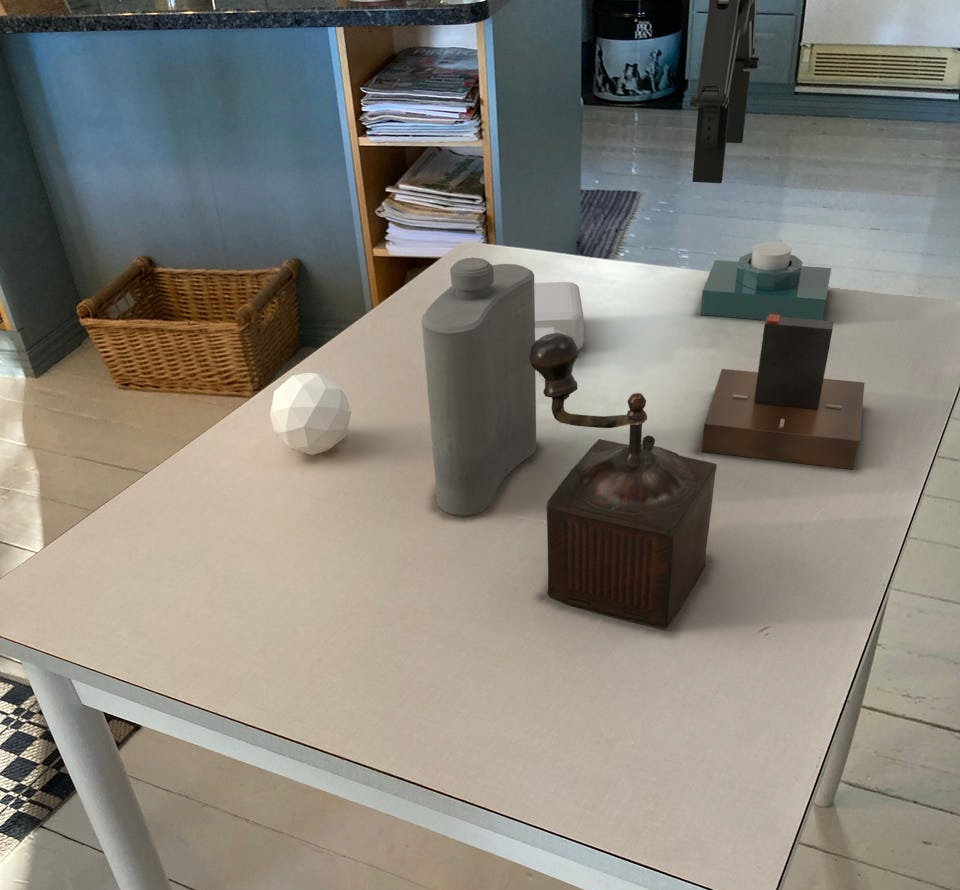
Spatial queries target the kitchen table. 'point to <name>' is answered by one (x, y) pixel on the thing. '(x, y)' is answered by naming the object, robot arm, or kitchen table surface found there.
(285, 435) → the geometric ball
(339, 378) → the kitchen table surface
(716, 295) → the teal nut fixture block
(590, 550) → the manual coffee grinder
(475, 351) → the flask
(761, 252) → the white push button
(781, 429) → the brown lever base block
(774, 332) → the dark upright slab
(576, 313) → the charger
